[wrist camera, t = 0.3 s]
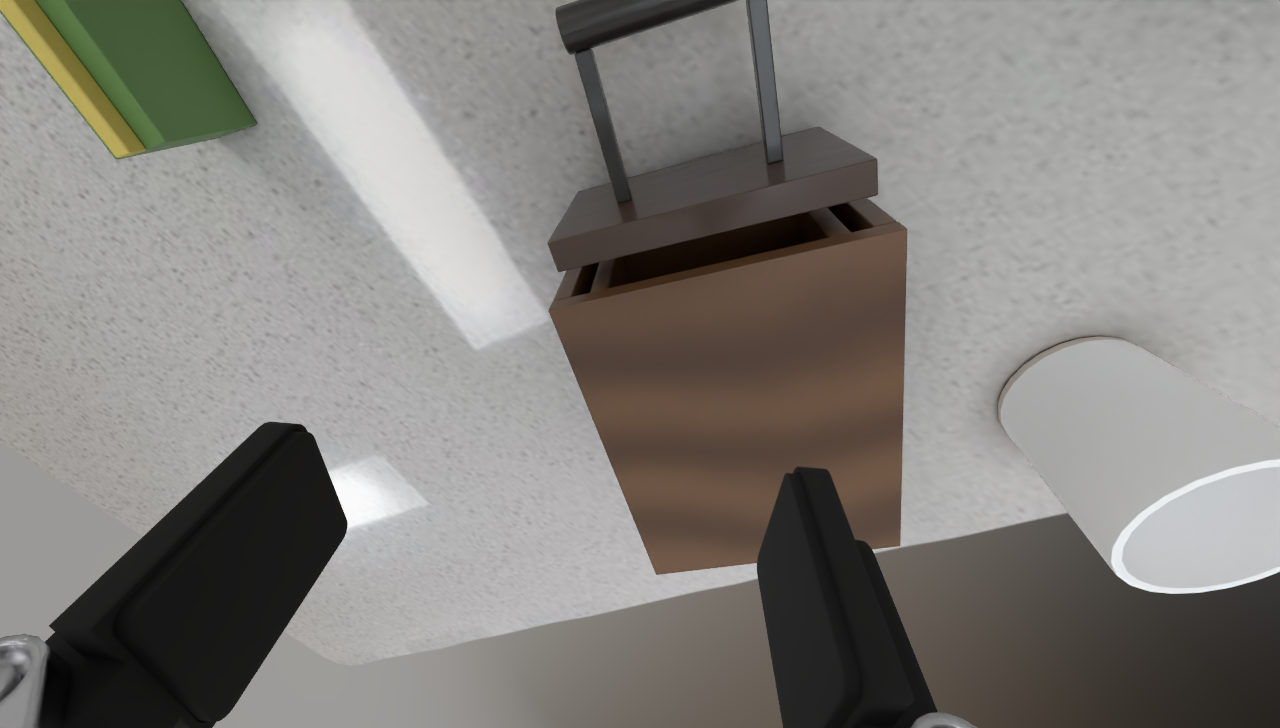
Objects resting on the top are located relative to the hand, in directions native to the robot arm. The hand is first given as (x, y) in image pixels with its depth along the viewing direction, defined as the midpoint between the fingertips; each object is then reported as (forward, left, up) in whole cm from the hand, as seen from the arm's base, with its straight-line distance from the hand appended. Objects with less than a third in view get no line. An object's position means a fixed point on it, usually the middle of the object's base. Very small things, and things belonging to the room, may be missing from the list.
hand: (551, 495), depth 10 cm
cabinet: (+6, +7, -18) cm, 21 cm away
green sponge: (-5, -20, -18) cm, 28 cm away
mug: (+7, +29, -19) cm, 35 cm away
